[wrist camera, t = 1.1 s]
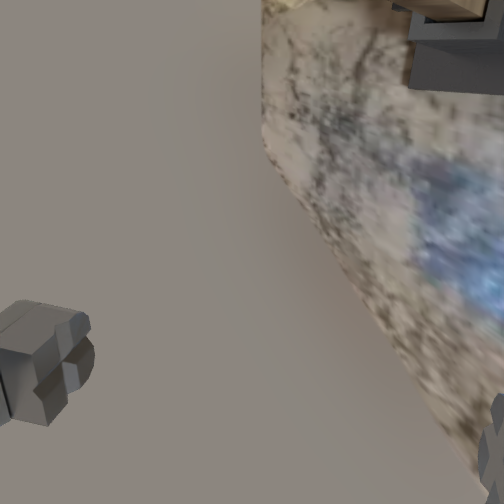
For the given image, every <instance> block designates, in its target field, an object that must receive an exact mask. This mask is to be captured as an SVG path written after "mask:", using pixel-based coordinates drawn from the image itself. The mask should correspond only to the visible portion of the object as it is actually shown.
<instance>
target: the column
mask: <svg viewBox="0 0 504 504" xmlns="http://www.w3.org/2000/svg"><path fill="white" fill-rule="evenodd" d="M388 1H390V2H393V3H395V4H397V5H400V6H402V7H405V8H407V9H409V10H412V11H414V12H416V13H419V14H421V15H424V16H426V17H428V18H431V19H433V20H435V21H438V22H440V23H462V22H484V21H485V17H486V12H487V8H488V3H489V0H388Z"/></svg>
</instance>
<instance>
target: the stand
mask: <svg viewBox="0 0 504 504" xmlns="http://www.w3.org/2000/svg"><path fill="white" fill-rule="evenodd" d="M392 10H395V11H397V12H400V11H412V10H409V9H407V8H405V7H402V6H400V5H397V4H395V3H393V4H392ZM408 40H410V41H413V42H416V49H415V54H414V59H413V64H412V70H411V75H410V80H409V85H408V88H409V89H415V90H430V91H445V92H460V93H475V94H489V95H504V0H489V3H488V8H487V12H486V17H485V21H484V22H462V23H440V22H438V21H435V20H433V19H431V18H428V17H426V16H424V15H421V14H419V13H416V12H414V11H413V13H412V18H411V24H410V29H409V34H408Z"/></svg>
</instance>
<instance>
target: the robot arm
mask: <svg viewBox="0 0 504 504" xmlns="http://www.w3.org/2000/svg"><path fill="white" fill-rule="evenodd" d="M90 330H91V326H90V321H89V316H88V315H86V314H85V313H84V312H81V311H76V310H72V309H67V308H62V307H58V306H54V305H49V304H42V303H38V302H34V301H29V300H19V301H16V302H15V303H13V304H12V305H11V306H9V307H8V308H6V309H5V310H4V311H2V312H1V313H0V426H2V425H4V424H5V423H7V422H9V421H10V420H11V419H16V420H20V421H25V422H29V423H34V424H38V425H43V426H49V425H50V423H51V422H52V421H53V420H54V419H55V418H56V416H57V415H58V414H59V413H60V412H61V411H62V409H63V408H64V407H65V406H66V405H67V403H68V394H69V393H71V392H74V391H76V390H78V389H80V388H81V387H82V386H83V385H84V383H85V382H86V381H87V380H88V378H89V376H90V374H91V371H92V369H93V366H94V358H95V352H94V346H93V345H92V343H91V342H90V340H89V339H88V338H87V337H86V335H87V334H88V333H89V331H90ZM490 411H491V415H492V420H493V423H492V424H490V425H488V426H487V427H485V428H484V429H483V432H482V436H481V439H480V442H479V451H478V470H479V476H480V482H481V483H482V484H483V486H484V487H485V488H486V489H487V490H488V491H489V496H488V498H487V501H486V504H504V394H501V393H498V394H497V396H496V397H495V398H494V401H493V403H492V406H491V409H490ZM10 418H11V419H10Z"/></svg>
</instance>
